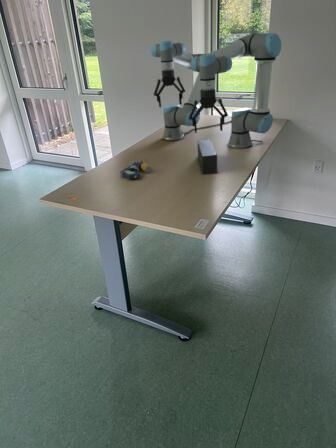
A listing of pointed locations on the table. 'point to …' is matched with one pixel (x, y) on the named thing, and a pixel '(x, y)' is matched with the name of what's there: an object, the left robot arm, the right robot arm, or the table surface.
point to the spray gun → (135, 167)
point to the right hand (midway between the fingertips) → (208, 131)
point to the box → (207, 157)
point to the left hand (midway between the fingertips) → (170, 105)
